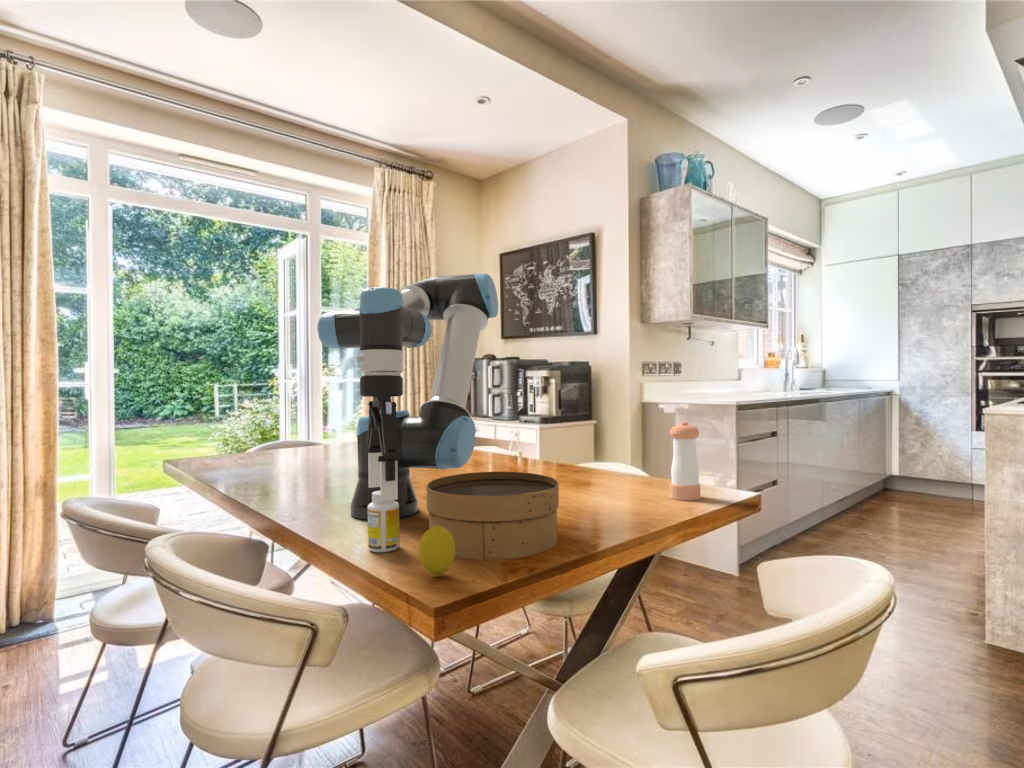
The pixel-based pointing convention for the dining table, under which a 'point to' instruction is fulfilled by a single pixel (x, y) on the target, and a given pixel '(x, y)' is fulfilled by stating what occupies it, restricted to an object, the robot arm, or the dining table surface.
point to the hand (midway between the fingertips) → (382, 493)
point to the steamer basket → (495, 513)
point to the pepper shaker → (684, 463)
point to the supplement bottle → (383, 524)
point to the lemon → (437, 550)
